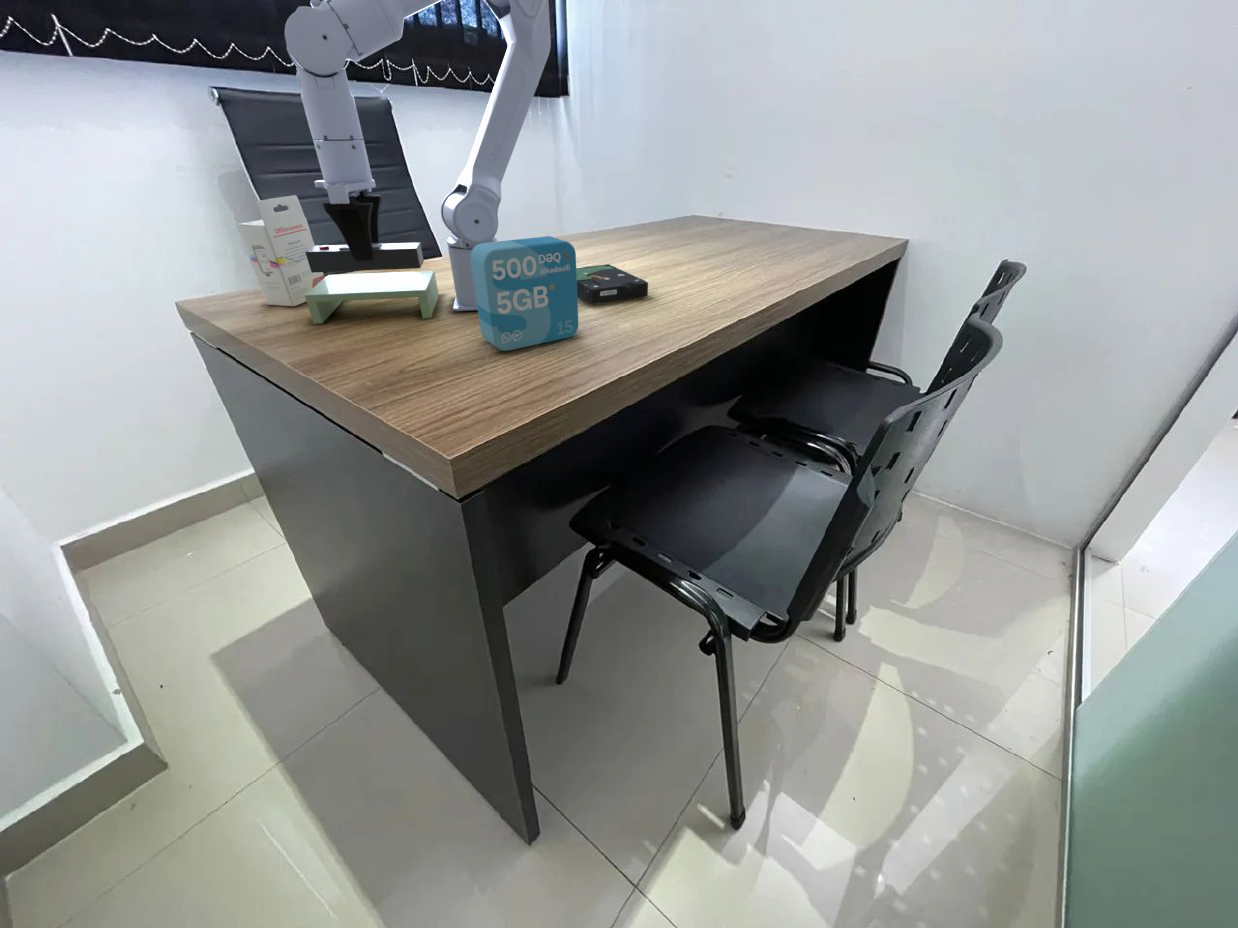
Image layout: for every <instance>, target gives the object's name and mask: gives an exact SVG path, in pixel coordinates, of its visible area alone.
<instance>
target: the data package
mask: <svg viewBox="0 0 1238 928" xmlns="http://www.w3.org/2000/svg"><path fill="white" fill-rule="evenodd" d="M576 253H577V252H576V249H575V247H574V246H573V244H572V243H571V242H569V241H566V240H562V239H559V238H557V237H554V236H550V235H545V236H538V237H536V236H535V237H528V238H518V239H510V240H500V241H498V240H497V242H489V243H481V244H478V245H476V246H475V247H474V248H473V250H472V252H471V255H470V260H471V267H472V274H473V281H474V288H475V294H476V301H477V308H478V310H477V315H478V321H479V327H480V328H479V329H480V333H481V336H482V338H483V339H485V340H486V341H487V342H488V343H490V344H491V345H492V346H494V347H495V348H496V349H498V350H499V351H502V352H509V351H510V352H511V351H514V350H519V349H524V348H528V347H533V346H538V345H542V344H547V343H552V342H556V341H562V340H565V339H570V338H571V337H573V336H574V335H576V333H577V331H578V329H579V306H578V305H579V304H578V303H579V300H578V296H577V273H576V268H577V254H576Z"/></svg>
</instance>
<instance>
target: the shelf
mask: <svg viewBox="0 0 1238 928" xmlns="http://www.w3.org/2000/svg"><path fill="white" fill-rule="evenodd" d="M439 296H440V294H439V289H438V284H437V278H436V273H435V270H422V271H421V270H420V271H395V272H369V273H343V274H328V275H326V276H324V279H323V280H322V281H321V282H319V283H318V284H317V285H316V286H315V287H314V288H312V289H311V290H310V291H309V292H308V293H307V294H306V295H305V299H306V302H305V303H306V304H307V308H308V310H309V313H310V316H311V320H312V323H313V324H314V325H316V324H317V325H318V324H324V322H326V320H327V319H328V318H329V317H330V316H331V315H332V314H333V312H335V310H336V309H337V308H338V307H339V306H340V304H342V302H347V301H348V302H350V301H351V302H352V301H369V300H370V301H371V300H390V299H416V298H418V302H419V306H420V311H421V312H420V313H421V317H422V319H431V318H432V316H433V313H434V310H435V307H436V305H437V302H438V299H439Z"/></svg>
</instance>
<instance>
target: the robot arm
mask: <svg viewBox="0 0 1238 928" xmlns="http://www.w3.org/2000/svg"><path fill="white" fill-rule="evenodd" d="M439 2H443V0H322V1H321V0H310V1H309V3H310V6H306V5H301V6H298V7H297V8H296V10H295V11H293V13H291V14H290V15H289V17H288V18H287V20H286V21H285V25H284V39H285V43H286V48H285V49H286V51H287V54H288V55H289V57H290V59H291V61H292V63H293V64H294V65H295V66H296V68H295V69H296V75H295V77H296V79H297V83H298V85H299V87H300V88H301V93H300V98H301V102H302V105H303V109H304V113H305V116H306V120H307V124H308V127H309V130H310V135H311V137H312V138H311V139H312V141H313V145H314V150H315V153H316V155H317V156H316V157H317V160H318V163H319V166H320V167H319V168H320V171H321V174H322V179H320V180H315V181H314V182H313V183H314V186H315V188H323V189H325V190H326V192H327V195H328V199H329V200H326V201H323V202H322V208H323V209H324V212H325V213H326V214H327V215H328V216H329V217H330V218H331V220H332V221H333V222H334V224H335V225H336V227H337V228H338V230H339V231H340V234H341V235H342V237H343V239H344V241H345V244H347V245H348V247H349V249H350V251H351V253H352V255H353V257H354V259H355V260H356V261H362V260H372V255H373V254H372V243H380V228H379V227H380V226H379V224H380V223H379V220H380V211H381V205H382V202H383V197H382V195H381V194H368V193H371V192H372V189H373V188H374V189H375V188H376V185H377V184H376V181H375V179H374V178H373V175H372V171H371V167H370V162H369V157H368V153H367V149H366V144H365V140H364V136H363V131H362V126H361V123H360V118H359V113H358V110H357V105H356V102H355V97H354V95H353V94H352V92H351V89H350V85H349V80H348V76H347V71H346V69H344V67H345V64H346V62H347V61H351V62H354V63H359V62H360V61H362V60H363V59H365V58H368V57H369V56H372V55H373V54H375V53H376V52H378V51H381V50H382V49H384V48H385V47H387V46H389V45H392V44H393V43H395V42H397V41H399V40H400V39H402V37H403V30H404V23H405V20H406V19H408V18H409V17H411V16H414V15H415V14H417V13H419V12H421V11H424V10H426V9H428V8H430V7H432V6H434V5H435V4H438V3H439ZM484 2H485V3H486V5H487V6H488V8H489V10H491V12H492V14H493V15H494V16H495V18H496V20H497V21H498V22H499V25H500V28H501V31H502V34H503V36H504V39H505V42H506V44H507V48H506V51H505V54H504V57H503V60H502V63H501V66H500V69H499V71H498V74H497V76H496V80H495V83H494V86H493V88H492V92H491V94H490V97H489V100H488V103H487V106H486V108H485V111H484V114H483V117H482V119H481V123H480V126H479V129H478V131H477V134H476V138H475V140H474V143H473V145H472V149H471V151H470V154H469V157H468V160H467V162H466V166H465V167H464V169H463V170H462V172H461V173H460V175H459V176H458V177H457V180H456V182H455V185H454V188H453V189H452V190H451V191H450V192H449V193H447V194H446V195H445V197H444V198H443V200H442V202H441V205H440V216H441V219H442V223H443V224H444V226H445V227H446V228H447V229H448V231H450V235H449V237H448V239H447V240H446V244H447V250H448V256H449V262H450V267H451V273H452V278H453V285H454V291H455V299H454V302H453V305H452V311H454V312H467V311H468V312H469V311H478V308H477V301H476V294H475V288H474V281H473V274H472V267H471V260H470V255H471V252H472V250H473V248H474V247H475V246H476V245H478V244H481V243H489V242H498V237H495V236H496V235H497V232H498V230H499V229H498V228H499V216H498V214H499V207H500V204H501V202H502V181H503V179H504V176H505V174H506V171H507V169H508V166H509V164H510V160H511V157H512V155H513V152H514V150H515V147H516V144H517V141H518V140H519V139H518V138H519V136H520V134H521V131H522V128H523V125H524V122H525V120H526V117H527V115H528V112H529V109H530V107H531V104H532V102H533V98H534V96H535V93H536V90H537V88H538V85H539V82H540V80H541V77H542V74H543V71H544V69H545V66H546V63H547V61H548V58H549V55H550V52H551V48H552V40H551V38H552V37H551V21H550V4H549V2H550V1H549V0H484Z"/></svg>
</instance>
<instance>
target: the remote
mask: <svg viewBox="0 0 1238 928" xmlns="http://www.w3.org/2000/svg"><path fill="white" fill-rule="evenodd" d="M305 253H306V256H307V259H308V263H309V266H310V269H311V272H312V273H315V272H323V273H335V272H338V273H339V272H362V271H387V270H388V271H389V270H412V269H413V270H415V269H421V268H422V266H423V264H424V262H425V260H424V255H423V250H422V244H421V242H391V243H389V242H388V243H381V242H379V243H372V254H373V255H372V260H362V261H356V260H355V259H354V257H353V255H352V253H351V251H350V249H349V247H348V245H347V243H345V244H330V245H329V244H323V245H322V244H321V245H315V246H314V247H313V248H311V249H310V250H308V251H307V252H305Z"/></svg>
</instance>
